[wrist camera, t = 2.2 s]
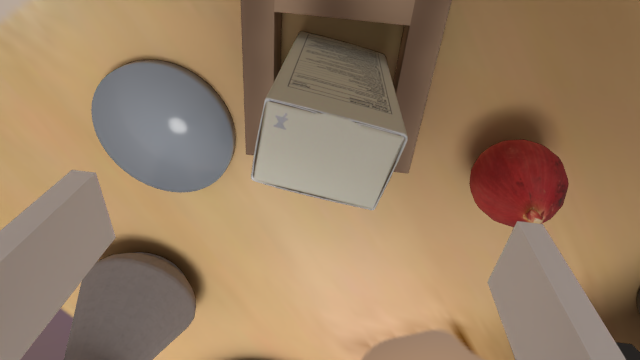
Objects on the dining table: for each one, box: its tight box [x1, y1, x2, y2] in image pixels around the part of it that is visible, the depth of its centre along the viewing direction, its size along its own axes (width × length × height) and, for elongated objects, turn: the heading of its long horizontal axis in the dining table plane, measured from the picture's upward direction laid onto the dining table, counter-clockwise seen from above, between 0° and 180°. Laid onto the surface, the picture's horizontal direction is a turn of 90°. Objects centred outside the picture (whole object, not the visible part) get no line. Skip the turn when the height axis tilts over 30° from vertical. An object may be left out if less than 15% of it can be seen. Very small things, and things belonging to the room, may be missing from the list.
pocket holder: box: [241, 0, 452, 173], centre depth 25 cm, size 12×12×2 cm
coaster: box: [92, 60, 236, 192], centre depth 30 cm, size 11×11×1 cm
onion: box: [470, 139, 568, 227], centre depth 25 cm, size 6×6×8 cm
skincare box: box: [251, 31, 408, 210], centre depth 21 cm, size 6×4×12 cm
